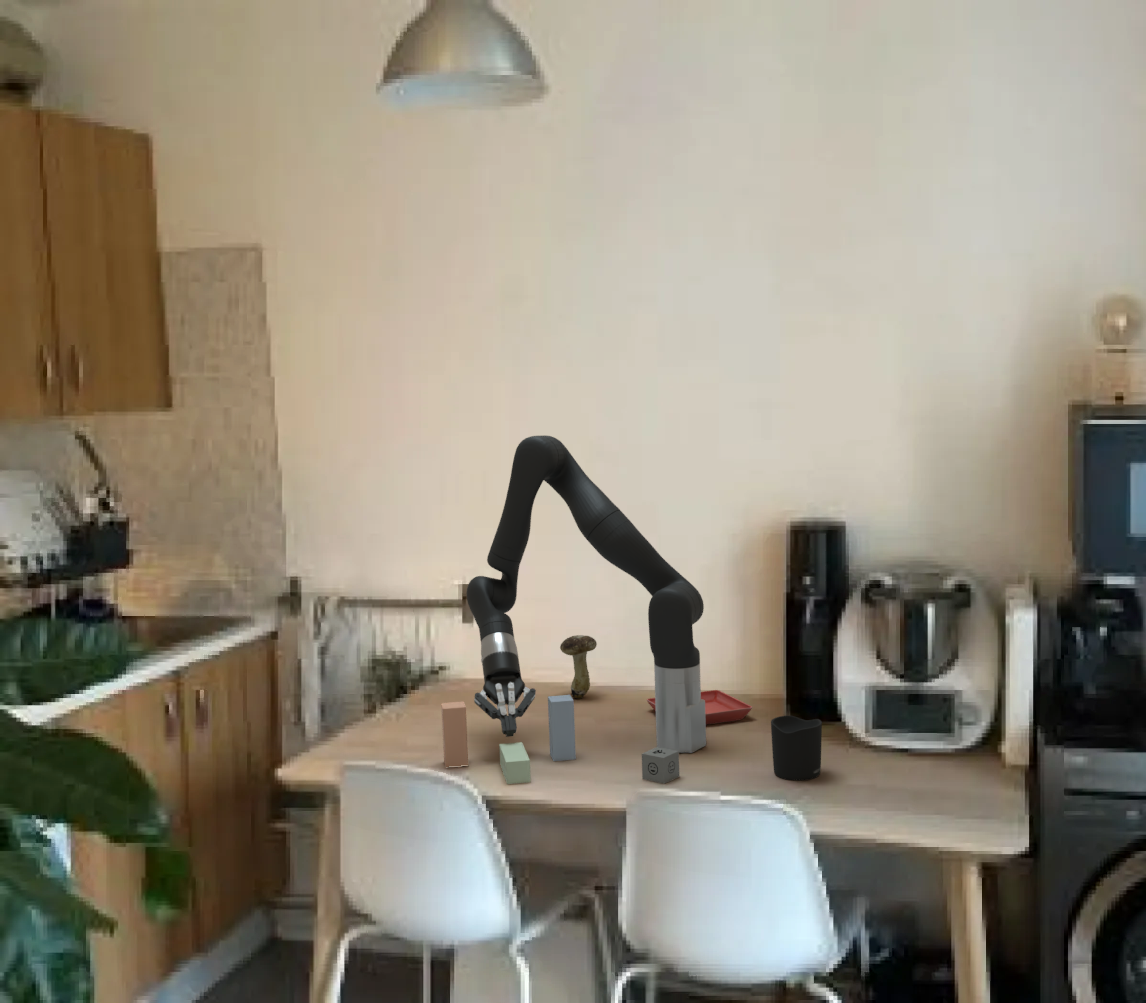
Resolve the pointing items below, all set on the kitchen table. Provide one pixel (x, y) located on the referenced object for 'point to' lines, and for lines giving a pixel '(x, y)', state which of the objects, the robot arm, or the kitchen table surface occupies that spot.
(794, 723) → the pen holder
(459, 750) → the terracotta block
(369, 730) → the kitchen table surface
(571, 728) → the slate blue block
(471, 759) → the kitchen table surface
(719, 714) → the red square tray
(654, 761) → the dice cube
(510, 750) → the sage green block
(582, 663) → the mushroom
